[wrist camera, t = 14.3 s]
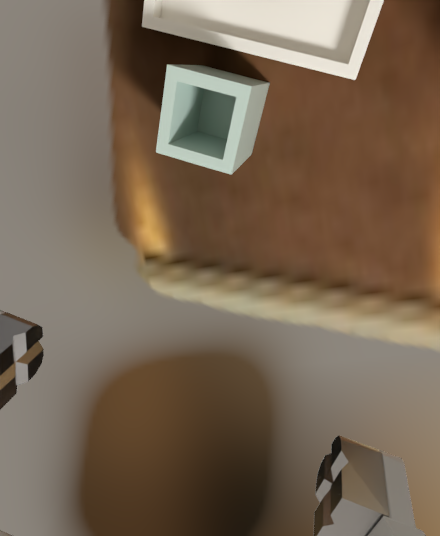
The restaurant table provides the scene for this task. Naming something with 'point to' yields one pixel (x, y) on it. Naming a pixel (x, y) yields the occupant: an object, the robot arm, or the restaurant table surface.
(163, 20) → the melamine tray
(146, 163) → the restaurant table surface
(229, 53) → the restaurant table surface
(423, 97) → the restaurant table surface
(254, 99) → the celadon cup
